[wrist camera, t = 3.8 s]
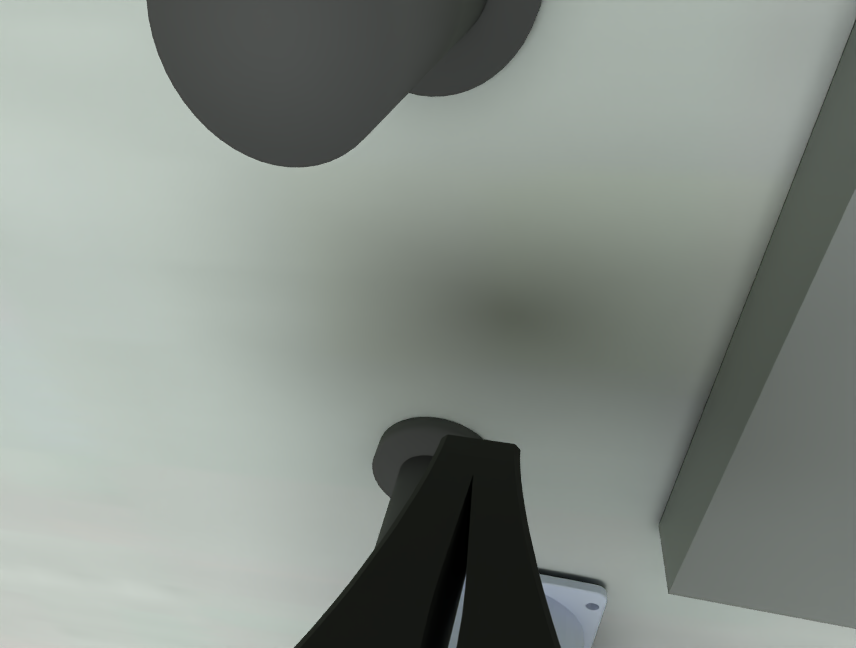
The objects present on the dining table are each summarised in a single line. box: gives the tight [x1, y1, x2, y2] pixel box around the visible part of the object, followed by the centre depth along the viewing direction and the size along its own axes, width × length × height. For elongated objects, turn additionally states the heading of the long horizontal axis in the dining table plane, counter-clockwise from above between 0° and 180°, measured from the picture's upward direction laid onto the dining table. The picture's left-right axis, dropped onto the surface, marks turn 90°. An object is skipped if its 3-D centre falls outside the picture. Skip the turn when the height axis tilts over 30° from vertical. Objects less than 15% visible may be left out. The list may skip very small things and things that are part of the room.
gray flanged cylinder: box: [372, 417, 482, 548], centre depth 17 cm, size 4×4×8 cm
